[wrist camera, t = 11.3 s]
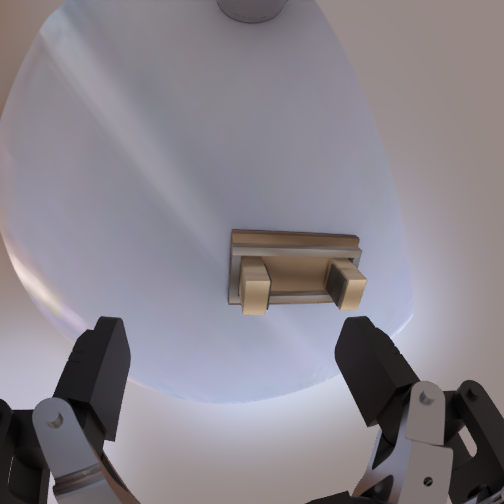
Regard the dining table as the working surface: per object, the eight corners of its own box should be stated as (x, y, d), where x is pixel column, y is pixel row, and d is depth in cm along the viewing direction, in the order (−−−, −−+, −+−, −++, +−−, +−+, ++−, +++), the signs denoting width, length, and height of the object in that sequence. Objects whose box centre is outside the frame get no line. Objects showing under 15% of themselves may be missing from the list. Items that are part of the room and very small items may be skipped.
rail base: (232, 229, 39) (237, 255, 32) (355, 235, 43) (382, 258, 35) (227, 299, 44) (231, 333, 37) (339, 297, 48) (359, 326, 40)
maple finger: (339, 285, 45) (357, 309, 38) (321, 285, 44) (337, 311, 38) (346, 257, 42) (367, 279, 36) (328, 257, 42) (346, 280, 36)
